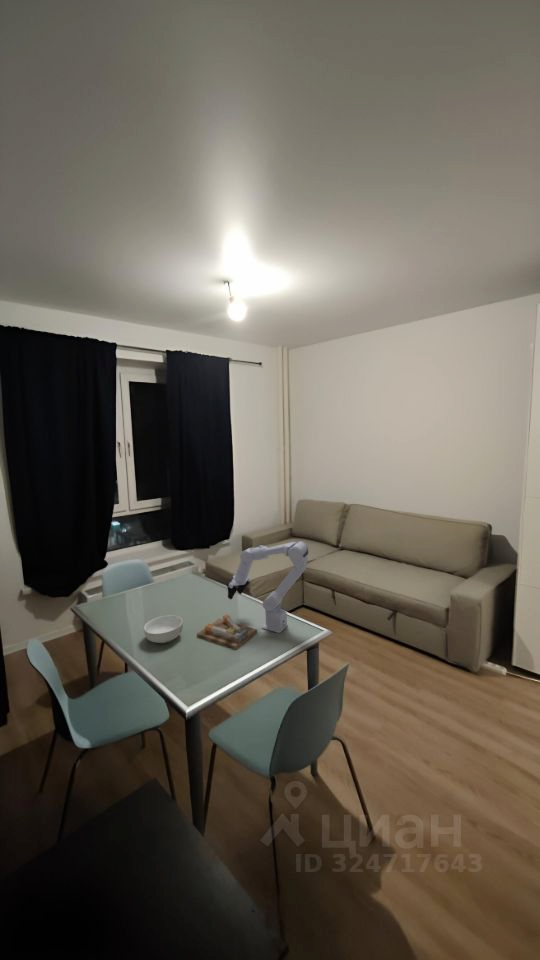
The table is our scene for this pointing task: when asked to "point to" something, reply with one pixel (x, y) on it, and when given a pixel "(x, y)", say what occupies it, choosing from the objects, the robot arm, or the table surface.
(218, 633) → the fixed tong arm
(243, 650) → the table surface
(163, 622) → the cereal bowl
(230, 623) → the tong arm
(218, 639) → the board
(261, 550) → the robot arm
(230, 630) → the tab
